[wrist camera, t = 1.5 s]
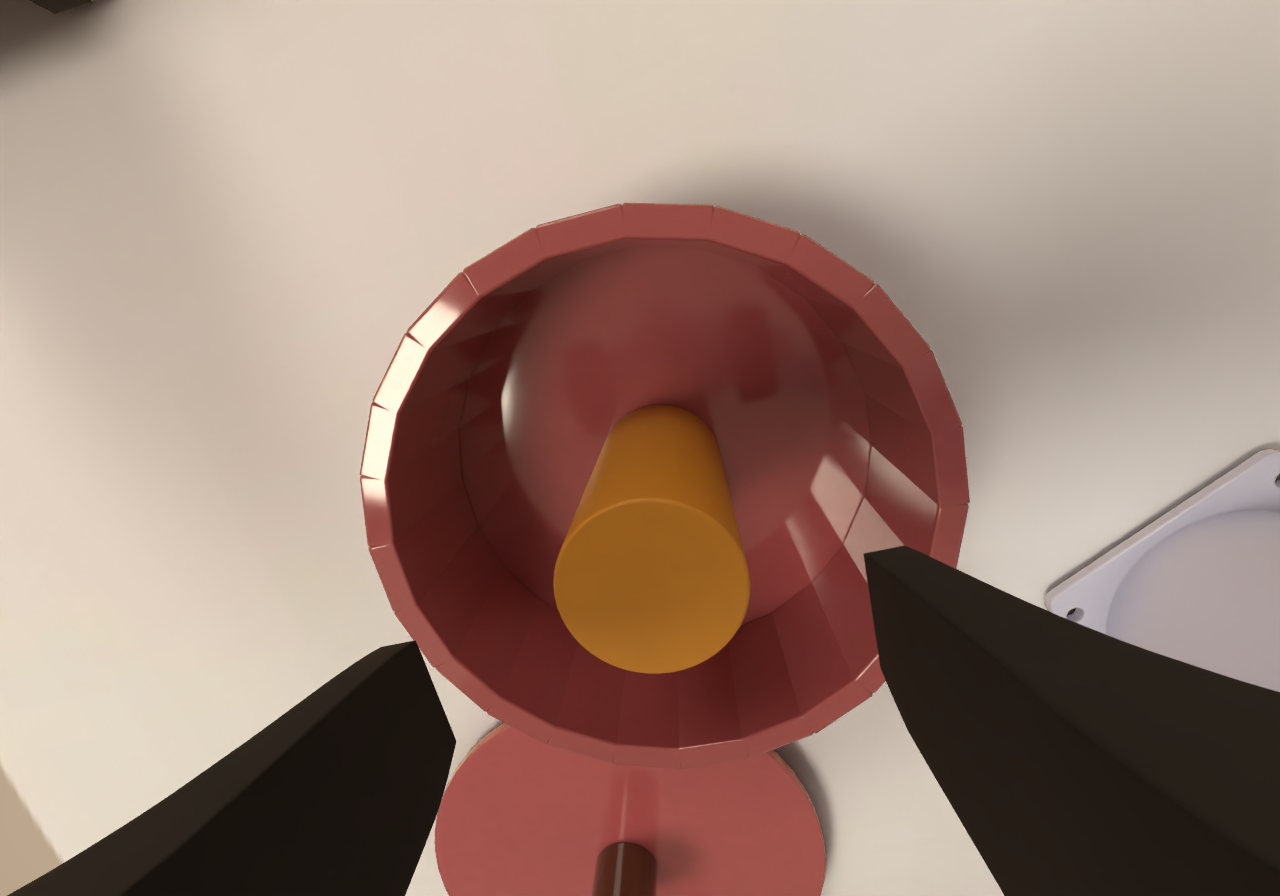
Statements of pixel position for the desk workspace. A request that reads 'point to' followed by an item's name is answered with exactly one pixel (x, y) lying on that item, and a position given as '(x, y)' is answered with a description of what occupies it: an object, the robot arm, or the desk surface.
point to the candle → (654, 548)
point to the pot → (575, 434)
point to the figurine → (61, 4)
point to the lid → (623, 826)
